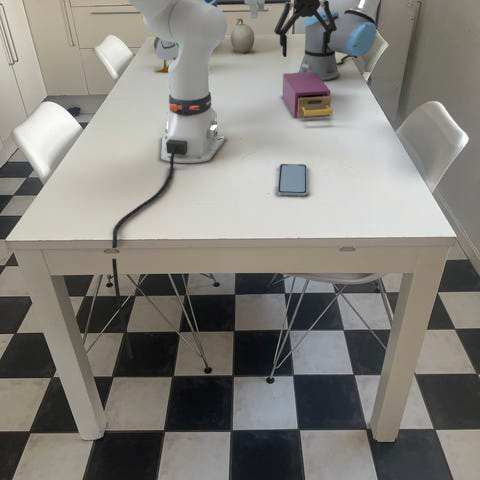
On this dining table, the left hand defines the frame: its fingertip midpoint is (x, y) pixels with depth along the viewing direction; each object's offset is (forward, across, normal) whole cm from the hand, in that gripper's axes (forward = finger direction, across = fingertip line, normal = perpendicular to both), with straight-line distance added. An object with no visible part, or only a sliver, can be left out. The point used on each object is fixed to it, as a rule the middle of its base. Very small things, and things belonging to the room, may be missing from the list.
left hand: (257, 13), depth 154 cm
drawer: (+30, -2, +17) cm, 34 cm away
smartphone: (+30, +46, +19) cm, 58 cm away
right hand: (+15, -14, +13) cm, 24 cm away
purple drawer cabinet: (+31, -8, +14) cm, 35 cm away
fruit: (+32, -70, -22) cm, 80 cm away
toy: (+31, -38, -44) cm, 66 cm away
